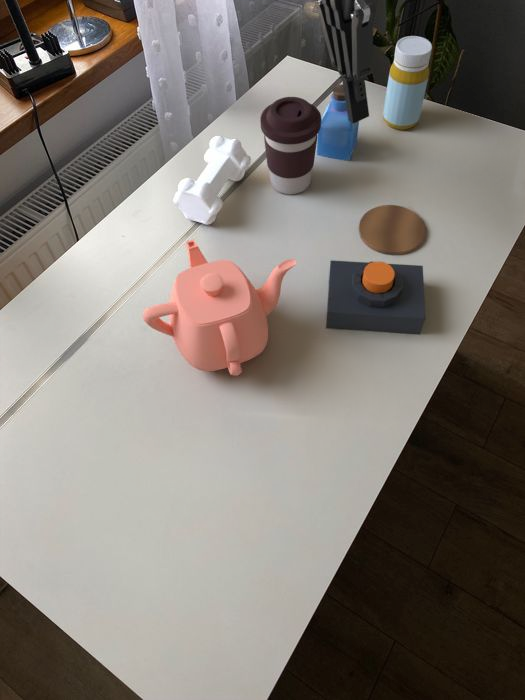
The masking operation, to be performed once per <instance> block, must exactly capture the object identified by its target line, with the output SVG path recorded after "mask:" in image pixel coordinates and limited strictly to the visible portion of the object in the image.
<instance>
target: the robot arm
mask: <svg viewBox="0 0 525 700" xmlns="http://www.w3.org/2000/svg"><path fill="white" fill-rule="evenodd" d="M313 2H314V5H315V8H316V10H317V13H318V17H319V21H320V25H321V29H322V33H323V36H324V40H325V43H326V46H327V47H326V48H327V51H328V55H329V59H330V63H331V66H332V67H333V68H334V69H335V68H337V72H338V74H339V76H341V80H342V85H343V88H344V94H345V101H346V107H347V114H348V120H349V121H350V122H352V123H353V124H354V123H356V122H358V121H359V122H360V121H362V120H364V119H367V118H369V117H370V112H369V104H368V96H367V88H366V79H365V77H366V76H368V75H371V74H372V73H373V72H374V64H373V63H374V20H375V16H376V12H377V9H376V8H377V7H376V5H375V3H373V2H371V3H368V4H367V3H366V1H365V0H313Z"/></svg>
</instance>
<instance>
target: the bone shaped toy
mask: <svg viewBox="0 0 525 700" xmlns="http://www.w3.org/2000/svg"><path fill="white" fill-rule="evenodd" d="M203 158H204V161H205V163H207V166H206V167H205V168H204V170H203V171H202V172H201V174H200V175H199V177H198V178H197V180H196V179H193V178H191V177H186V178H183V179H182V180H181V181H180V182H179V184H178V187H177V189H178V191H176V193H175V194H174V197H173V203H174V205H175V206H177V207H178V208H179V210H180V211H181V213H182V214H183V215H184V217H185V219H186V220H188V221H193V222H197V223H200V224H203V225H207V226H208V225H211V224H212V223H214V222H215V221H216V219H217V214H218V213H219V212H220V211H221V209H222V207H223V200H222V198H220V197H219V196H218V195H219V194H220V192H221V191H222V190H223V187H225V185H226V184H227V182H228V181H229V180H231V181H232V182H239V181H241V180H242V179H243V178H244V177H245V173H246V172H245V171H246V170H247V169H248V168H249V167H250V165H251V162H252V157H251V156H250V155H249V154H247V153H246V151H245V149H244V147H243V145H242V142H241V141H240V140H239V139H238V138H232V139H230V138H226V137H224V136H223V135H216V136H214V137H212V138H211V139H210V141H209V148H207V151H206V152H205V154H204V157H203Z"/></svg>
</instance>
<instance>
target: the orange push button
mask: <svg viewBox="0 0 525 700" xmlns="http://www.w3.org/2000/svg"><path fill="white" fill-rule="evenodd" d="M371 262H372V263H370V264H368V265H367V266H366V267H365V269H364V274H363V280H362V282H363V285H364V287H365V288H366V289H367V290H368V291H370V292H372V293H377V294H380V293H385V292H387V291H388V290H390V289H391V287H392V285H393V280H394V276H395V273H394V270H393V268H392V267H391V266H390V265H389V264H390V263H387V262H384V261H371Z"/></svg>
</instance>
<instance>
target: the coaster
mask: <svg viewBox="0 0 525 700" xmlns="http://www.w3.org/2000/svg"><path fill="white" fill-rule="evenodd" d="M426 233H427V232H426V225H425V222H424V220H423V219H422V218H421V216H420V215H419V214H417V213H416V212H415V211H413V210H412V209H410V208H407V207H405V206H401V205H398V204H397V205H396V204H383V205H379V206H375V207H373V208H371V209H369V210H368V211H366V212H365V213H364V214H363V215H362V217H361V218H360V220H359V224H358V234H359V237H360V239H361V241H362V242H363V243H364V245H365V246H367V247H368V248H369V249H371V250H373V251H374V252H375V253H379V254H382V255H386V256H403V255H406V254H410V253H412V252H414V251H416V250H417V249H418V248H419V247H420V246H421V245H422V244H423V242H424V240H425V238H426V237H425V235H426Z"/></svg>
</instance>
